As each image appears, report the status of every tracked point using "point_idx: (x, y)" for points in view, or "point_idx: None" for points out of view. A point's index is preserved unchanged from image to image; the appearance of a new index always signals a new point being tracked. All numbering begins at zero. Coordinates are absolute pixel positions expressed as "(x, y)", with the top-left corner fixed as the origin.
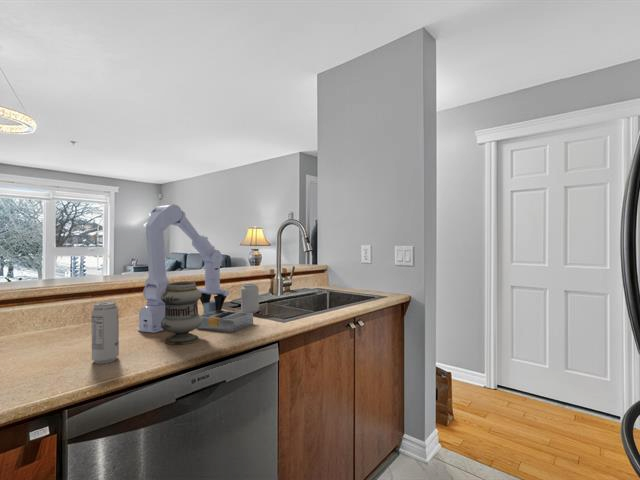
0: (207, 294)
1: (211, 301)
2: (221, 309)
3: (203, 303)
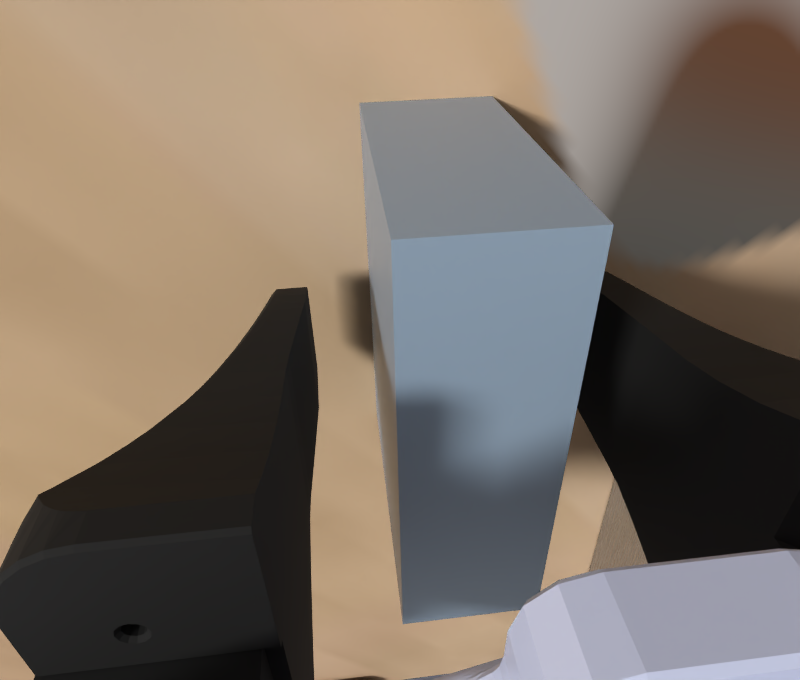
0: (265, 656)
1: (420, 455)
2: (521, 128)
3: (405, 623)
